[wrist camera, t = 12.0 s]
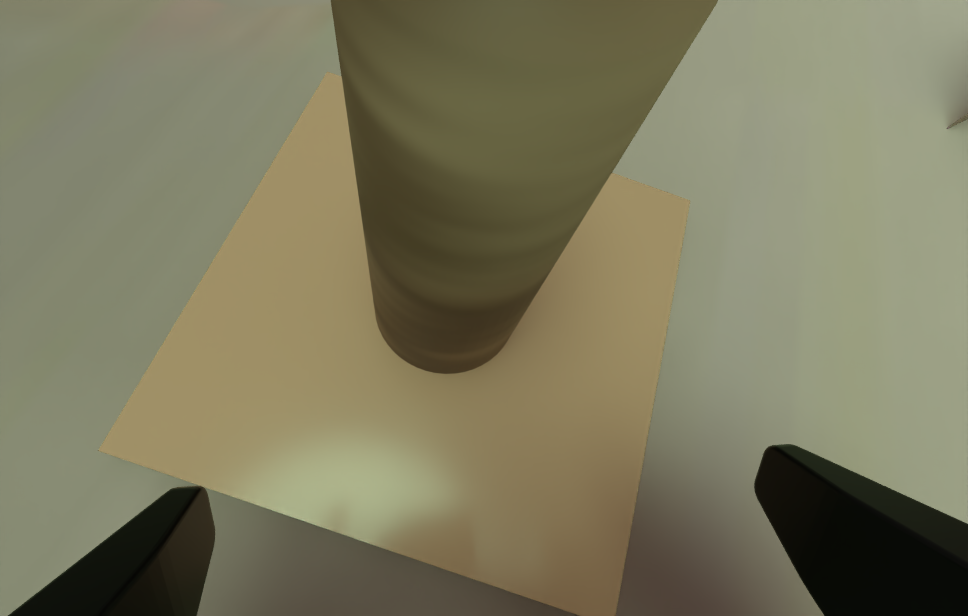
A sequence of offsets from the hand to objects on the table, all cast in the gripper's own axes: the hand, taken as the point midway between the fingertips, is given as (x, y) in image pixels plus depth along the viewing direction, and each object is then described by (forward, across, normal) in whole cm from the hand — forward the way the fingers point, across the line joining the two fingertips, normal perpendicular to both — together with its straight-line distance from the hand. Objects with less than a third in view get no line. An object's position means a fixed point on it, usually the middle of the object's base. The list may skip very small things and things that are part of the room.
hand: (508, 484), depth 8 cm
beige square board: (+11, 0, +2) cm, 11 cm away
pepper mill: (+10, 0, +1) cm, 11 cm away
